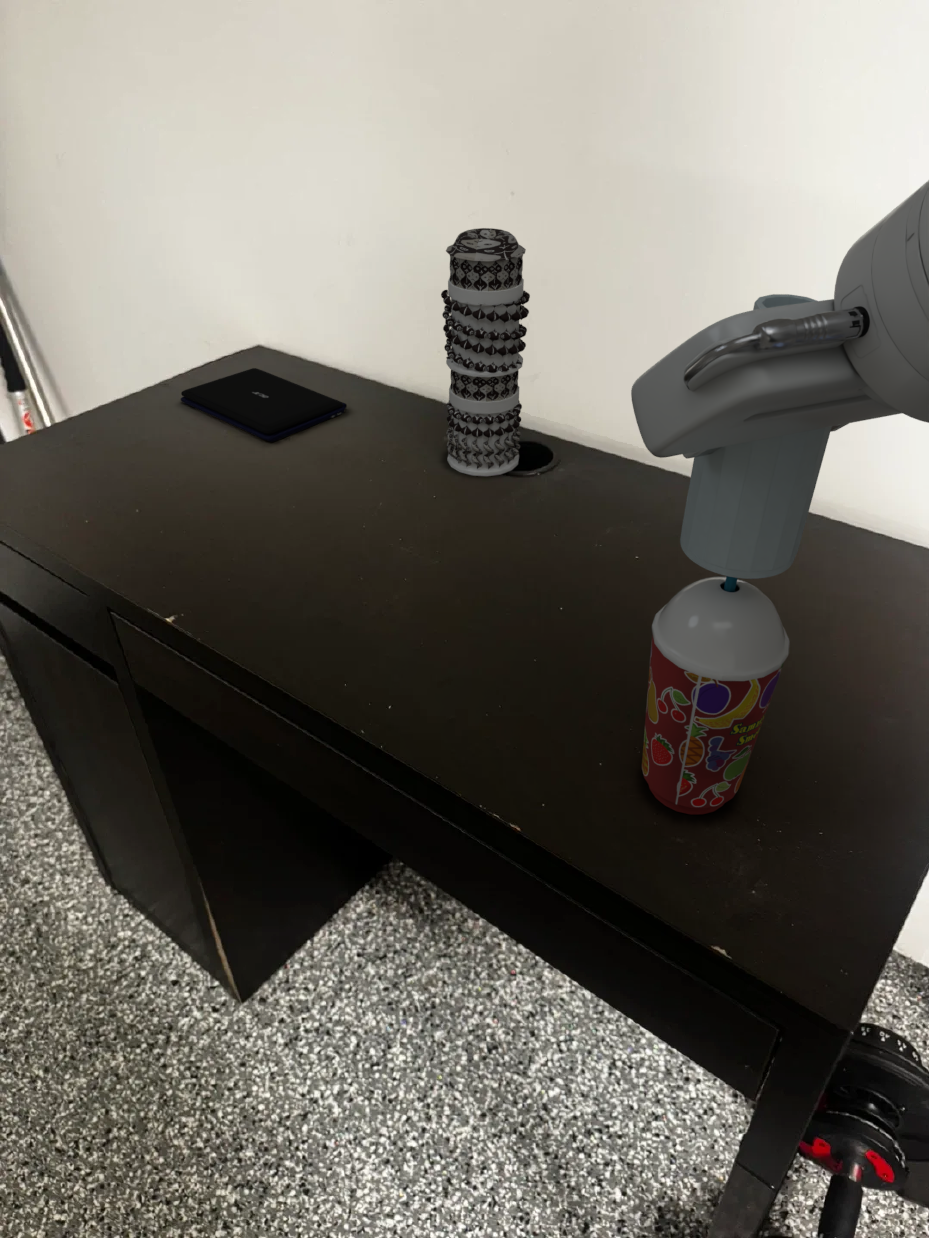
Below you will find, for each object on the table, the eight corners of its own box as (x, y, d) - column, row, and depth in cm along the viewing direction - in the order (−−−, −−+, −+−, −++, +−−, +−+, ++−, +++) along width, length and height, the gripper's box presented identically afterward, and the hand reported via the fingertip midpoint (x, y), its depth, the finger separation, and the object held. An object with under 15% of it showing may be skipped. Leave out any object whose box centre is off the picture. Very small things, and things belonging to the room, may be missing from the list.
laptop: (278, 371, 127) (277, 357, 125) (358, 416, 114) (357, 401, 113) (174, 399, 118) (171, 385, 117) (247, 451, 106) (245, 436, 105)
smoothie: (742, 844, 60) (811, 600, 48) (618, 813, 62) (655, 572, 50) (752, 759, 66) (815, 524, 54) (639, 733, 68) (676, 503, 56)
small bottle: (819, 558, 51) (890, 312, 43) (735, 591, 48) (794, 336, 40) (737, 509, 55) (787, 277, 47) (656, 536, 53) (694, 297, 44)
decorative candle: (511, 483, 100) (519, 249, 85) (433, 471, 102) (428, 241, 87) (531, 448, 107) (542, 227, 92) (458, 438, 109) (457, 220, 94)
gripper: (757, 418, 32) (599, 522, 45) (1164, 346, 38) (919, 456, 51) (707, 254, 32) (566, 404, 45) (1116, 208, 38) (886, 353, 51)
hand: (755, 431), depth 48 cm, fingers closed on small bottle, 6 cm apart
